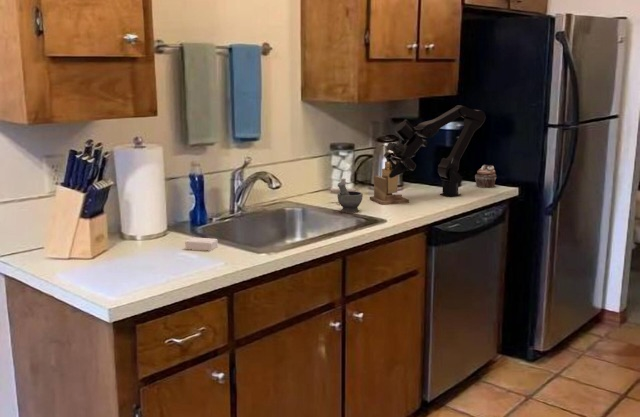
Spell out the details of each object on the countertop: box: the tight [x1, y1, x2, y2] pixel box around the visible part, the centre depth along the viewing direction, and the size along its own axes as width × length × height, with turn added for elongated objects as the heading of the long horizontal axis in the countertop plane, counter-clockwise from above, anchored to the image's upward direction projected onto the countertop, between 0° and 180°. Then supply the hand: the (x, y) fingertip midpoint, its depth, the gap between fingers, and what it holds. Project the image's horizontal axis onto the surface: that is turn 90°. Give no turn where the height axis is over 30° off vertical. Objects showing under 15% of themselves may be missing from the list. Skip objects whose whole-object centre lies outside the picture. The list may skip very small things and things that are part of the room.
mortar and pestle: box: [337, 181, 364, 214], centre depth 258 cm, size 11×9×12 cm
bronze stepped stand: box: [369, 175, 410, 206], centre depth 276 cm, size 12×12×10 cm
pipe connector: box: [330, 177, 357, 194], centre depth 274 cm, size 10×10×10 cm
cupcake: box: [474, 164, 497, 189], centre depth 307 cm, size 10×10×10 cm
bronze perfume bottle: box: [381, 161, 398, 194], centre depth 275 cm, size 4×6×12 cm
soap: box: [184, 237, 219, 252], centre depth 209 cm, size 9×6×3 cm, turn 74°
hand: (386, 176), depth 275 cm, fingers closed on bronze perfume bottle, 5 cm apart
